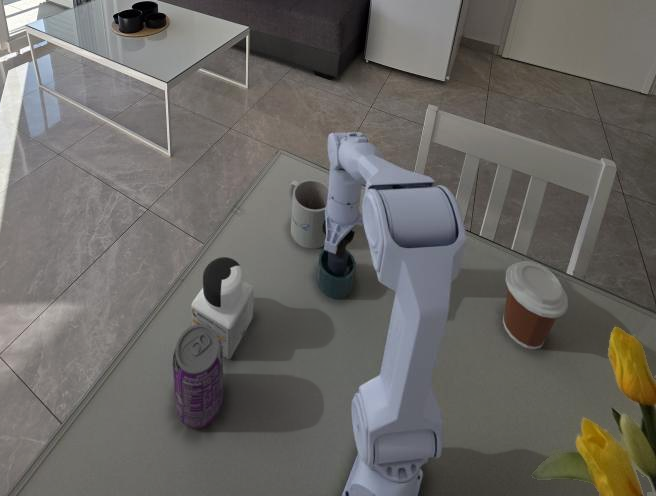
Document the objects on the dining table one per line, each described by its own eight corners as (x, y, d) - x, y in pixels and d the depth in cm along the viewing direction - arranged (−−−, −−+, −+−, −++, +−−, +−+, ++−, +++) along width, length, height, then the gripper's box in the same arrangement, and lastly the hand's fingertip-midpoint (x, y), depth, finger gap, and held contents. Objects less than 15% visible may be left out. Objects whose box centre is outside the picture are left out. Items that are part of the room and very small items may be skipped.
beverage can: (201, 362, 69) (199, 310, 65) (232, 397, 65) (232, 344, 61) (165, 404, 64) (161, 350, 60) (197, 445, 60) (195, 390, 56)
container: (191, 336, 73) (189, 280, 69) (217, 296, 79) (216, 243, 75) (229, 361, 69) (229, 304, 65) (253, 317, 76) (254, 263, 72)
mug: (337, 242, 91) (340, 205, 88) (299, 253, 88) (302, 215, 85) (313, 198, 102) (316, 164, 99) (279, 207, 99) (281, 172, 96)
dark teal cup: (343, 307, 78) (345, 287, 77) (310, 284, 82) (311, 265, 80) (359, 277, 84) (361, 258, 82) (327, 257, 87) (329, 239, 86)
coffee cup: (546, 371, 69) (565, 320, 66) (487, 329, 75) (501, 280, 71) (558, 328, 76) (575, 278, 72) (502, 292, 82) (516, 245, 78)
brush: (343, 277, 79) (347, 239, 76) (325, 269, 81) (328, 231, 78) (348, 260, 82) (352, 223, 79) (330, 253, 84) (334, 216, 81)
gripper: (356, 232, 68) (349, 293, 72) (375, 172, 81) (367, 227, 85) (314, 216, 71) (310, 276, 75) (339, 160, 83) (333, 214, 88)
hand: (338, 249), depth 80 cm, fingers closed on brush
